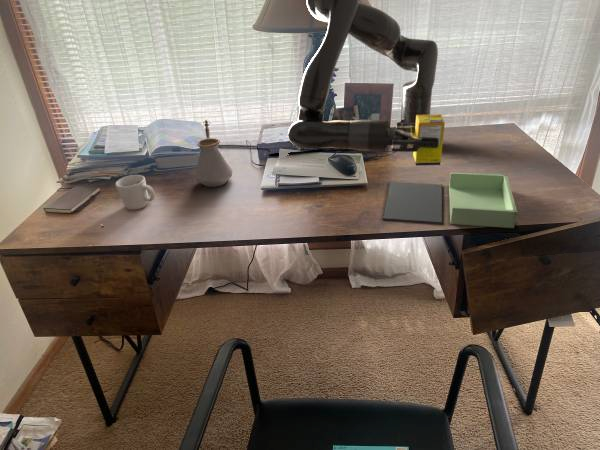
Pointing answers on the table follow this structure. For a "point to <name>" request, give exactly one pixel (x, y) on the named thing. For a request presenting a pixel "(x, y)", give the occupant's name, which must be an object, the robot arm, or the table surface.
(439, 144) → the supplement box
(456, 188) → the desk tray
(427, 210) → the grey mat
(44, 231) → the table surface
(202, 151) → the coffee pot
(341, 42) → the robot arm
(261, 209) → the table surface
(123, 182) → the cup
